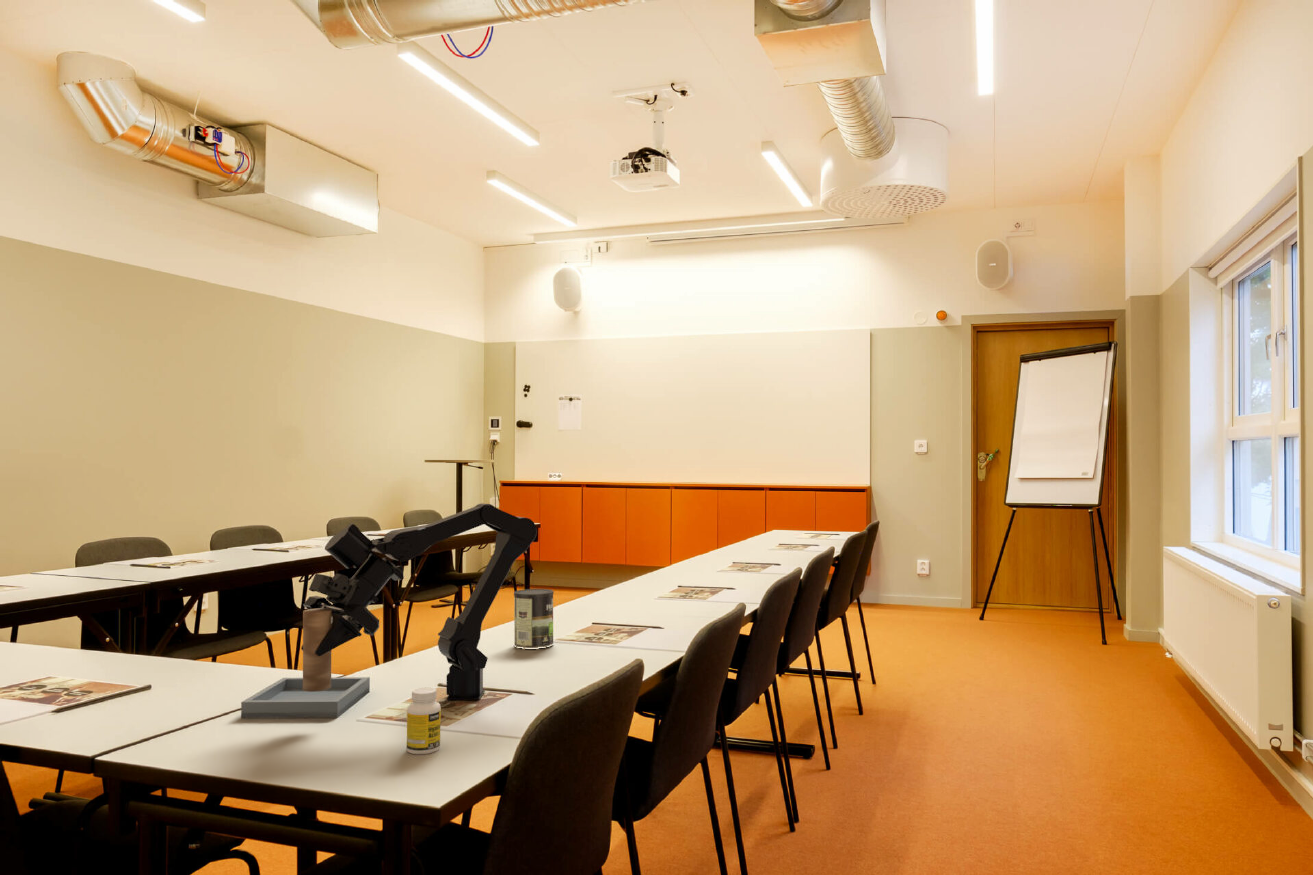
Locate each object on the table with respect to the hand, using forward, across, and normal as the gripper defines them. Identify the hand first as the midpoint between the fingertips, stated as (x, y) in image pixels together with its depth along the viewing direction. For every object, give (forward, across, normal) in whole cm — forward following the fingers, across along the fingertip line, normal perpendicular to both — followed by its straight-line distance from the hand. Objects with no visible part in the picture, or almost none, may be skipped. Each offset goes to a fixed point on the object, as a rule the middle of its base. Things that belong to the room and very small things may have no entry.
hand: (309, 652), depth 153 cm
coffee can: (-40, -22, +60) cm, 76 cm away
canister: (+4, 0, +6) cm, 7 cm away
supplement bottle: (+5, +26, +14) cm, 30 cm away
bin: (+4, -14, +14) cm, 21 cm away
